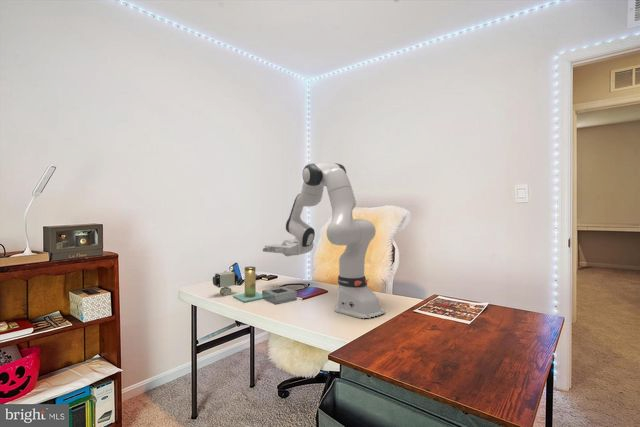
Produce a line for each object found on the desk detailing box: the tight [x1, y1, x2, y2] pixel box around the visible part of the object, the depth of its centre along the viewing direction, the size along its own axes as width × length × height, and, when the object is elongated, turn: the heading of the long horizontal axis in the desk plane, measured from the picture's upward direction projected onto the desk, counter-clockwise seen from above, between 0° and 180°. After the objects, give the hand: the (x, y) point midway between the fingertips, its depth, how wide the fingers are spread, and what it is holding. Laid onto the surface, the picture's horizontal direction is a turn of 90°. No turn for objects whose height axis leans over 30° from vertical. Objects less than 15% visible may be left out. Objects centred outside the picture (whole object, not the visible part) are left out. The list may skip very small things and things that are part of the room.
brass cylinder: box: [244, 266, 257, 298], centre depth 163 cm, size 5×5×14 cm
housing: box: [261, 286, 298, 305], centre depth 160 cm, size 12×12×4 cm
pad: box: [232, 291, 264, 304], centre depth 163 cm, size 12×12×1 cm
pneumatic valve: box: [212, 270, 239, 297], centre depth 168 cm, size 6×12×12 cm, turn 128°
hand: (269, 250), depth 171 cm, fingers open, 8 cm apart
